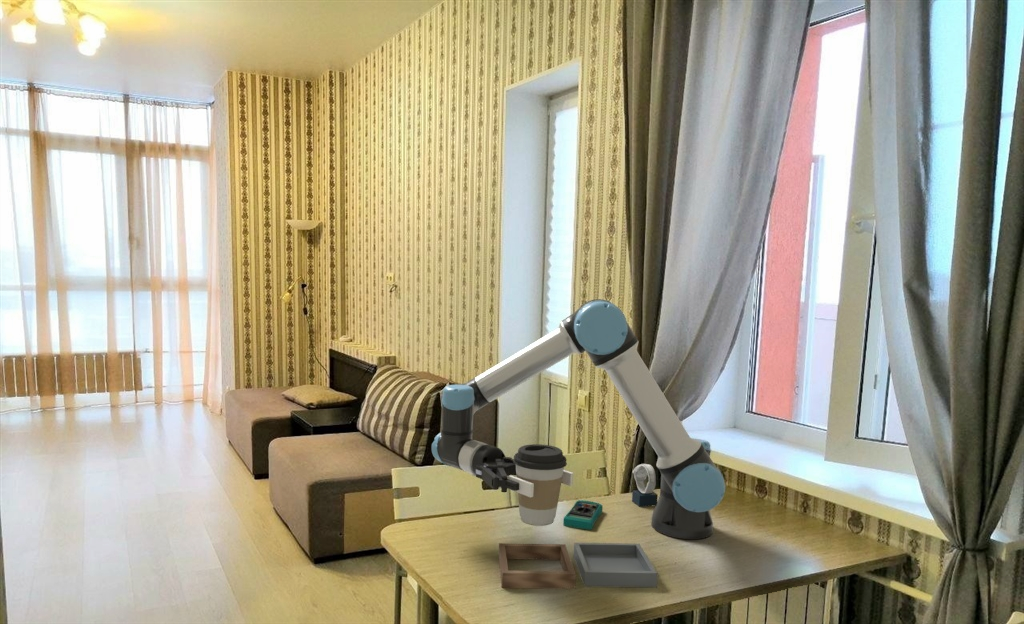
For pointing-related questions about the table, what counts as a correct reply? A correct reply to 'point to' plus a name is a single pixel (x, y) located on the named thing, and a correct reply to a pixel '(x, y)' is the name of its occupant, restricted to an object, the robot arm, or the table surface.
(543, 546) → the collar
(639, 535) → the table surface
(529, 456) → the coffee cup
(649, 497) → the watch
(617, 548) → the tray
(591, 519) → the digital multimeter
